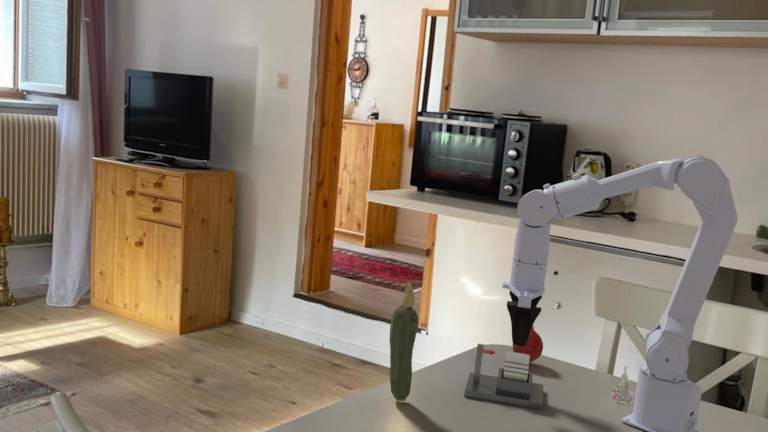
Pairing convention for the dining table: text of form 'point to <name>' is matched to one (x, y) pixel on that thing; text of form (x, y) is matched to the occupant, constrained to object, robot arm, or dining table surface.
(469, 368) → the dining table surface
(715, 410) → the dining table surface
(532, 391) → the jack base
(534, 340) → the onion
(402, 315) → the vegetable
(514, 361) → the column
